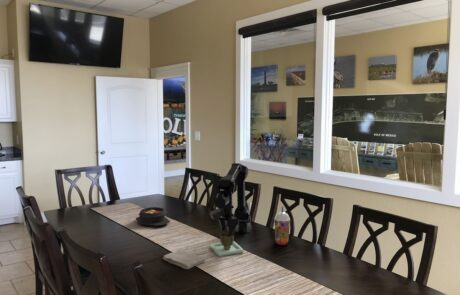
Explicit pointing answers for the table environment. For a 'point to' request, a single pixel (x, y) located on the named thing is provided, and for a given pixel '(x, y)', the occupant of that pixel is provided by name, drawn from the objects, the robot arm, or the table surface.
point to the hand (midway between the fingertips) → (226, 233)
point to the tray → (222, 252)
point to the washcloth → (183, 259)
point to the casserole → (152, 216)
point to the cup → (226, 240)
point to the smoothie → (282, 228)
